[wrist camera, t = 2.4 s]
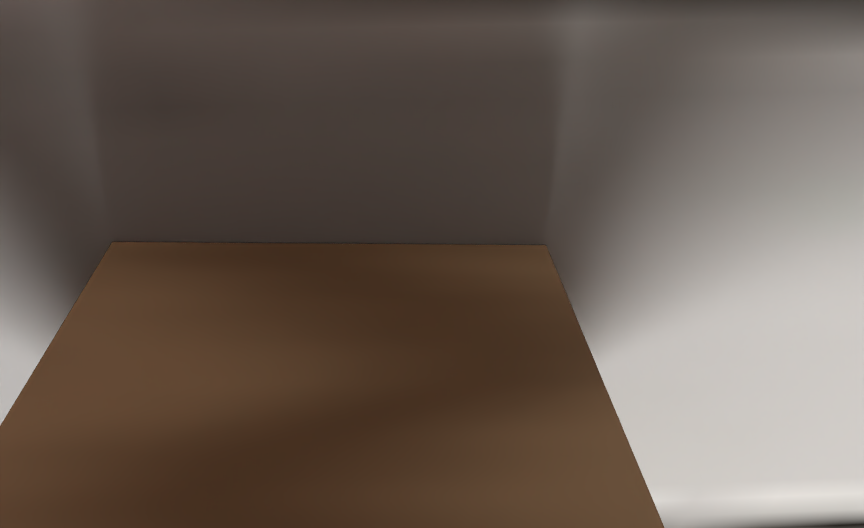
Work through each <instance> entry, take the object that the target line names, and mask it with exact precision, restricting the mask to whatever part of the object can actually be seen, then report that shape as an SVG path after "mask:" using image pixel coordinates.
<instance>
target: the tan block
mask: <svg viewBox="0 0 864 528" xmlns="http://www.w3.org/2000/svg"><path fill="white" fill-rule="evenodd" d="M0 528H664V526H663V523H662V521H661V518H660V516H659V514H658V511H657V509H656V507H655V504H654V502H653V499H652V497H651V495H650V492H649V490H648V487H647V485H646V483H645V480H644V478H643V476H642V473H641V471H640V468H639V466H638V464H637V461H636V459H635V456H634V454H633V452H632V449H631V447H630V445H629V442H628V440H627V437H626V435H625V433H624V430H623V428H622V425H621V423H620V421H619V418H618V416H617V414H616V411H615V409H614V406H613V404H612V402H611V399H610V397H609V394H608V392H607V390H606V387H605V385H604V383H603V380H602V378H601V375H600V373H599V371H598V368H597V366H596V363H595V361H594V359H593V356H592V354H591V352H590V349H589V347H588V344H587V342H586V340H585V337H584V335H583V332H582V330H581V328H580V325H579V323H578V321H577V318H576V316H575V313H574V311H573V309H572V306H571V304H570V301H569V299H568V297H567V294H566V292H565V290H564V287H563V285H562V282H561V280H560V278H559V275H558V273H557V270H556V268H555V266H554V263H553V261H552V259H551V256H550V254H549V251H548V249H547V247H546V245H464V244H329V243H194V242H112V243H111V245H110V246H109V248H108V250H107V251H106V253H105V255H104V256H103V258H102V260H101V261H100V263H99V265H98V266H97V268H96V269H95V271H94V273H93V274H92V276H91V278H90V279H89V281H88V283H87V284H86V286H85V288H84V289H83V291H82V292H81V294H80V296H79V297H78V299H77V301H76V302H75V304H74V306H73V307H72V309H71V311H70V312H69V314H68V315H67V317H66V319H65V320H64V322H63V324H62V325H61V327H60V329H59V330H58V332H57V334H56V335H55V337H54V338H53V340H52V342H51V343H50V345H49V347H48V348H47V350H46V352H45V353H44V355H43V357H42V358H41V360H40V362H39V363H38V365H37V366H36V368H35V370H34V371H33V373H32V375H31V376H30V378H29V380H28V381H27V383H26V385H25V386H24V388H23V389H22V391H21V393H20V394H19V396H18V398H17V399H16V401H15V403H14V404H13V406H12V408H11V409H10V411H9V412H8V414H7V416H6V417H5V419H4V421H3V422H2V424H1V426H0Z"/></svg>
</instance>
